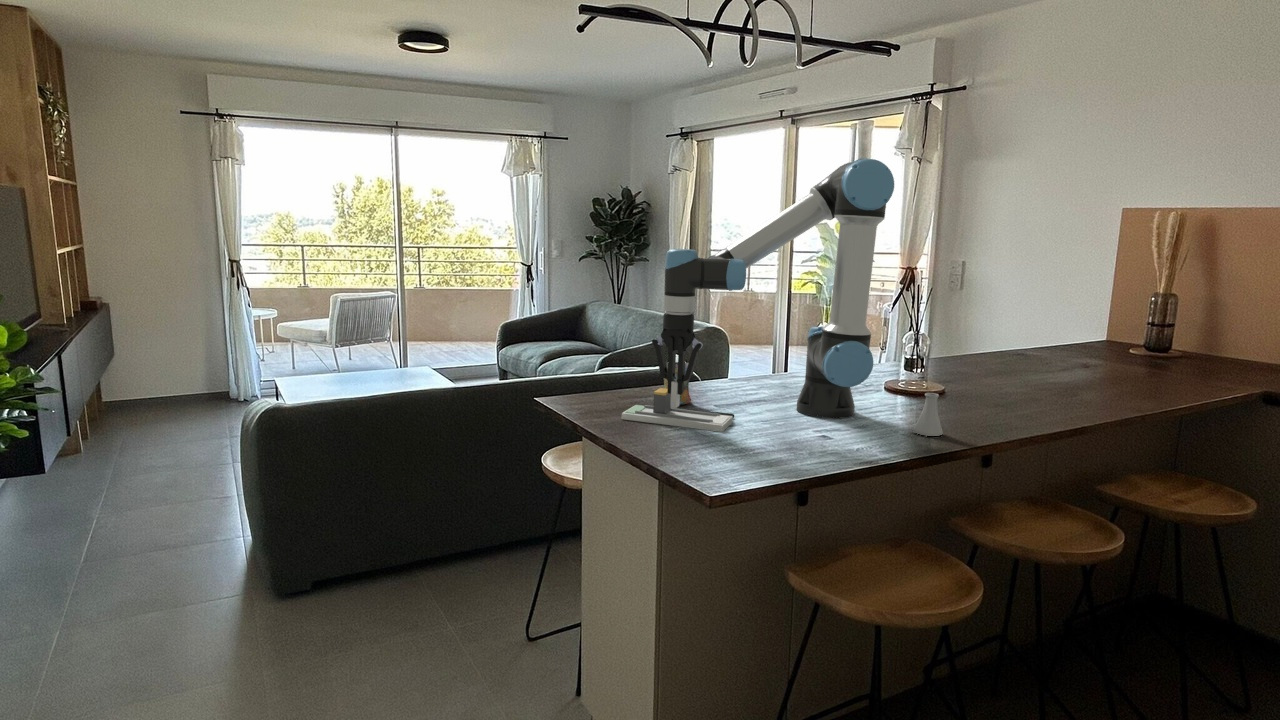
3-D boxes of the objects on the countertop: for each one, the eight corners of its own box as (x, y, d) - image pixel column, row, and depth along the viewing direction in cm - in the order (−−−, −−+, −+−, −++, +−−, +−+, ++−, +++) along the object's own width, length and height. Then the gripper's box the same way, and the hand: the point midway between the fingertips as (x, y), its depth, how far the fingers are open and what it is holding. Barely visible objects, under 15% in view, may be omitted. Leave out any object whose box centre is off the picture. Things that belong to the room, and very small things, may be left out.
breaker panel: (732, 422, 193) (732, 413, 192) (722, 431, 184) (722, 423, 183) (635, 410, 202) (635, 402, 201) (621, 419, 192) (621, 410, 192)
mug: (697, 406, 208) (699, 367, 206) (664, 407, 206) (666, 368, 204) (682, 396, 219) (684, 359, 218) (651, 397, 217) (652, 360, 215)
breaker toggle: (670, 410, 195) (671, 389, 194) (664, 415, 191) (665, 393, 190) (659, 409, 196) (660, 387, 195) (653, 413, 192) (653, 391, 191)
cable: (734, 418, 197) (734, 413, 197) (733, 419, 196) (734, 414, 195) (647, 409, 203) (647, 404, 203) (646, 410, 202) (646, 405, 202)
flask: (940, 440, 182) (944, 399, 181) (909, 434, 186) (912, 394, 184) (946, 433, 188) (950, 393, 187) (915, 428, 192) (919, 389, 190)
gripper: (708, 313, 189) (704, 406, 193) (658, 309, 194) (655, 400, 198) (700, 316, 182) (695, 413, 186) (648, 312, 187) (645, 406, 191)
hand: (674, 406), depth 192 cm, fingers closed
